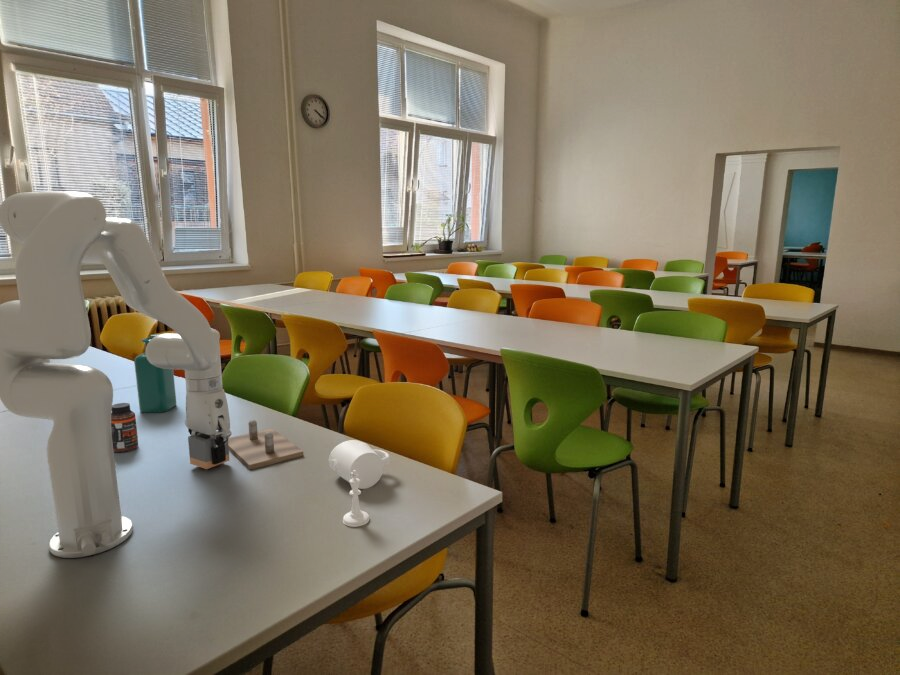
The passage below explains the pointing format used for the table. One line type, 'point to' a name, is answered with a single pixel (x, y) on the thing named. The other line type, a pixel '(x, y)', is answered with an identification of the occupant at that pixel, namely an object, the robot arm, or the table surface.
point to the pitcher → (154, 384)
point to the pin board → (262, 447)
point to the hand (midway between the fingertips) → (209, 458)
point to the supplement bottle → (123, 428)
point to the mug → (358, 462)
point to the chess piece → (355, 506)
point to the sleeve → (203, 450)
